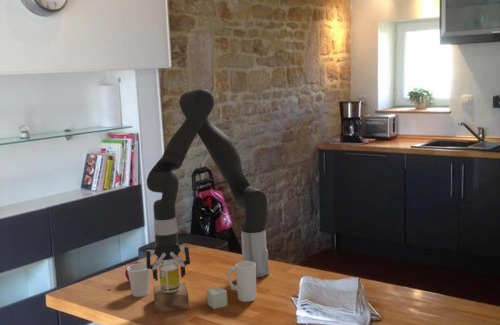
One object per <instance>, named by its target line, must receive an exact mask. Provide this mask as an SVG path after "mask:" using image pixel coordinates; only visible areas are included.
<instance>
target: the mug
mask: <svg viewBox="0 0 500 325" xmlns="http://www.w3.org/2000/svg"><path fill="white" fill-rule="evenodd" d="M255 265H256V264H255V263H254V262H250V261H243V260H242V261H240V262H239V261H238V262H236V263H235V265H234V266H235V267H234V266H229V270H228V273H227V281H228V284H229V286H230V290H233V291H237V300H239V301H240V302H243V303H249V302H253V301H255V300H256V299H257V278H256V266H255ZM232 272H235V278H236V284H234V283H233V281H232Z"/></svg>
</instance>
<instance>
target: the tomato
mask: <svg viewBox="0 0 500 325" xmlns="http://www.w3.org/2000/svg"><path fill="white" fill-rule="evenodd" d="M137 263H143V262H141V261H135V262H131V263H129V264H128V265H127V267H128V266H130V265H133V264H137ZM127 267H126V269H125V272H124V274H125V278H126V279H127V281H128V282H130V280H129V275H128V271H127Z"/></svg>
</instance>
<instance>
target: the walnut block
mask: <svg viewBox="0 0 500 325" xmlns="http://www.w3.org/2000/svg"><path fill="white" fill-rule="evenodd" d="M152 286H153V287H152V288H153V289H152V290H153V300H154V302H153V303H154V312H155V313H156V314H157V313H165V312H173V311H182V310H189V309H190V303H189V293H188V292H189V291H188V289H187V283H186V282H179V290H178V291H176V292H173V293H164V292H162V291H161V284H160V285H152Z"/></svg>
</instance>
